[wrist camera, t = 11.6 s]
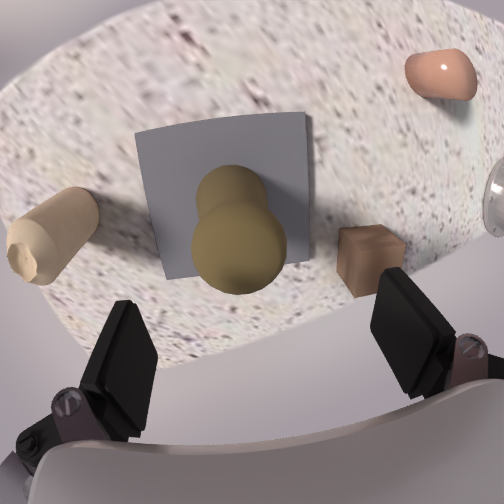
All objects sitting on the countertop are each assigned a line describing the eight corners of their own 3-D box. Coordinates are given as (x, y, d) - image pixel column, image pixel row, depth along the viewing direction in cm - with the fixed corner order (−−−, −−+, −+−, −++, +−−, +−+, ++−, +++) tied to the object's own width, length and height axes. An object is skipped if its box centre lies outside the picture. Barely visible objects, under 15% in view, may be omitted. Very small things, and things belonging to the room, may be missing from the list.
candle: (100, 187, 22) (43, 230, 13) (101, 241, 25) (57, 302, 16) (53, 185, 21) (-10, 224, 12) (57, 236, 24) (5, 290, 15)
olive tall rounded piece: (272, 223, 25) (307, 297, 15) (205, 239, 25) (200, 321, 15) (259, 157, 22) (294, 191, 12) (187, 174, 22) (163, 221, 12)
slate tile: (301, 111, 21) (304, 111, 20) (306, 255, 28) (309, 260, 27) (137, 132, 21) (134, 133, 20) (168, 274, 27) (166, 279, 26)
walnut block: (380, 224, 27) (406, 244, 23) (375, 264, 30) (397, 288, 25) (339, 228, 27) (360, 251, 23) (336, 271, 29) (354, 297, 25)
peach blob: (436, 59, 19) (474, 57, 14) (439, 100, 21) (478, 104, 16) (402, 49, 19) (440, 42, 13) (406, 94, 21) (446, 95, 16)
